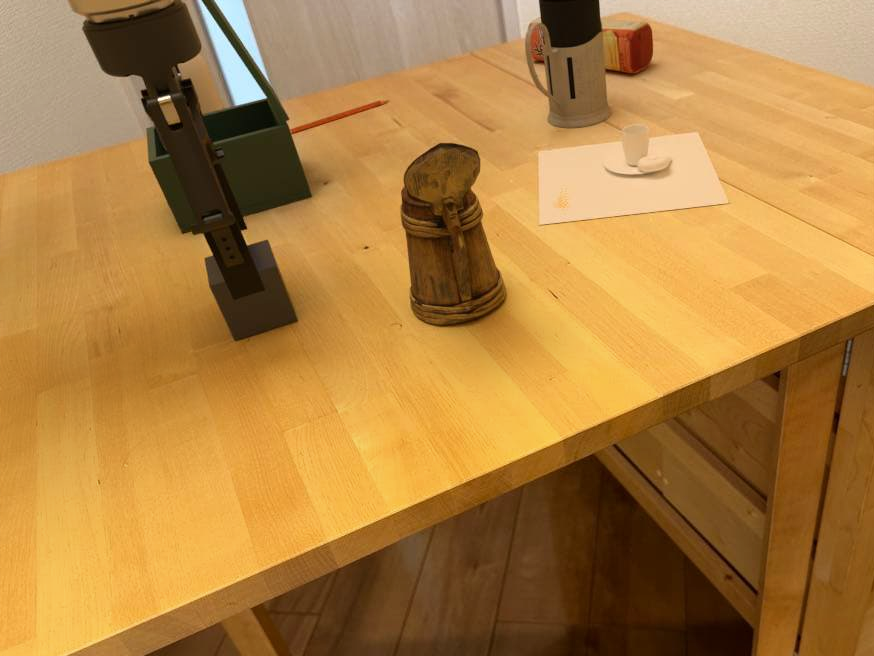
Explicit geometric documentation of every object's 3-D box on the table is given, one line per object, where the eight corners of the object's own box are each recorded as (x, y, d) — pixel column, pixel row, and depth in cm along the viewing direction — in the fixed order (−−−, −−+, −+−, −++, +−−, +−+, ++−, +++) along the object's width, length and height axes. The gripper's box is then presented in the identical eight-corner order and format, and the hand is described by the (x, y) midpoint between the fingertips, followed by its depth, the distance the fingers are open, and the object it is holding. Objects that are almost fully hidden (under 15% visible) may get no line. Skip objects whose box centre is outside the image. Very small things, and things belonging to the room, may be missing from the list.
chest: (182, 233, 91) (148, 161, 85) (176, 195, 100) (146, 128, 94) (312, 196, 94) (288, 125, 89) (295, 162, 104) (272, 96, 98)
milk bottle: (243, 153, 109) (185, -1, 96) (189, 169, 106) (122, 14, 94) (232, 138, 114) (175, -9, 101) (180, 154, 112) (115, 5, 99)
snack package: (526, 63, 125) (520, 19, 120) (552, 51, 128) (548, 7, 124) (631, 79, 113) (629, 30, 108) (657, 64, 116) (656, 16, 112)
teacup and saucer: (677, 176, 86) (676, 141, 83) (606, 184, 86) (604, 149, 84) (666, 146, 93) (666, 112, 90) (601, 154, 93) (598, 121, 91)
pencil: (281, 136, 113) (279, 132, 112) (390, 101, 119) (388, 97, 119) (282, 138, 112) (281, 133, 112) (392, 102, 118) (390, 98, 118)
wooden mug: (432, 364, 64) (377, 159, 53) (403, 288, 74) (352, 102, 63) (532, 335, 66) (500, 129, 54) (490, 265, 76) (456, 78, 64)
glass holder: (623, 106, 105) (616, -15, 95) (567, 147, 96) (554, 18, 87) (569, 100, 109) (558, -16, 99) (511, 139, 101) (493, 16, 91)
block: (234, 341, 71) (209, 286, 67) (228, 311, 75) (204, 257, 71) (298, 320, 72) (276, 265, 68) (288, 292, 77) (267, 239, 73)
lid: (185, -24, 77) (259, -68, 77) (179, -41, 86) (245, -80, 87) (284, 123, 88) (348, 84, 89) (269, 94, 98) (327, 59, 98)
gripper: (192, 27, 48) (303, 310, 62) (175, -27, 66) (263, 200, 80) (67, 56, 46) (209, 340, 60) (85, -8, 65) (191, 221, 78)
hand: (240, 260), depth 70 cm, fingers open, 13 cm apart
